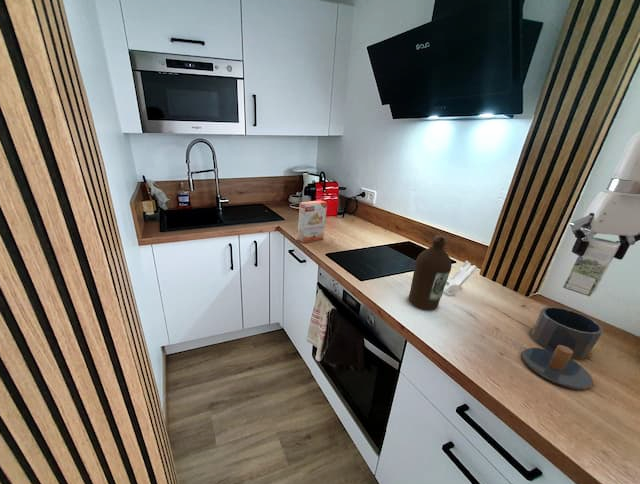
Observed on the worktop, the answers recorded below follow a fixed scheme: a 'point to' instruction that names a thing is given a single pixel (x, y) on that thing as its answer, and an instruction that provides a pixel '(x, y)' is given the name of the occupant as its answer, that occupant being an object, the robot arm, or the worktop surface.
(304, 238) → the cracker box
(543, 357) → the tin lid
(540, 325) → the tin
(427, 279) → the brown bottle
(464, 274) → the plastic part
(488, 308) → the worktop surface
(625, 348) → the worktop surface
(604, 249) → the syrup box
